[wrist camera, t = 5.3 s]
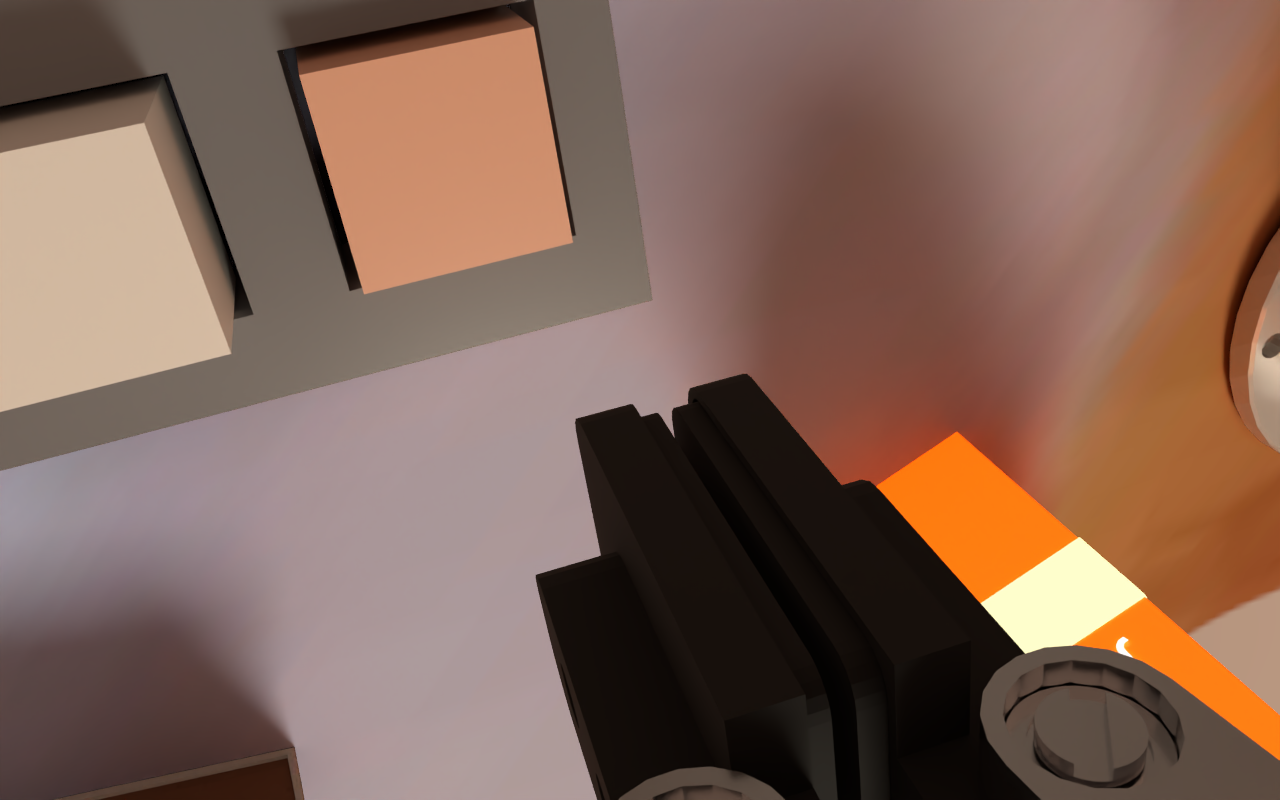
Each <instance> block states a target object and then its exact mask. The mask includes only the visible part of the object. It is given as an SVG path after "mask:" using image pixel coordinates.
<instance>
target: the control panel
mask: <svg viewBox="0 0 1280 800" xmlns="http://www.w3.org/2000/svg"><path fill="white" fill-rule="evenodd" d="M506 4H509V5H510V9H511V10H512V11H513V12H515V13H516V14H517V15H519V16H520V17H521V18H523V19H524V20H525V21H527V22H528V23H529V24H531V25H532V26H533V27H534V32H535V37H536V43H537V48H538V54H539V59H540V65H541V70H542V76H543V81H544V86H545V92H546V97H547V103H548V108H549V114H550V119H551V125H552V130H553V136H554V141H555V147H556V152H557V158H558V163H559V169H560V174H561V180H562V185H563V191H564V196H565V201H566V207H567V212H568V218H569V223H570V229H571V234H572V240H573V243H570V244H566V245H562V246H558V247H554V248H550V249H546V250H542V251H537V252H533V253H529V254H525V255H521V256H517V257H513V258H509V259H505V260H501V261H497V262H493V263H489V264H485V265H481V266H477V267H473V268H469V269H465V270H461V271H457V272H453V273H448V274H444V275H440V276H436V277H432V278H428V279H424V280H420V281H416V282H412V283H408V284H404V285H400V286H396V287H392V288H388V289H384V290H380V291H376V292H372V293H368V294H364V292H363V289H362V286H361V282H360V279H359V276H358V272H357V269H356V265H355V262H354V259H353V255H352V252H351V249H350V245H349V242H348V243H344V244H341V242H340V239H339V235H338V232H337V229H336V225H335V222H334V219H333V215H332V212H331V209H330V205H329V202H328V199H327V195H326V192H325V189H324V185H323V182H322V179H321V175H320V172H319V169H318V165H317V162H316V159H315V155H314V152H313V149H312V145H311V142H310V139H309V136H308V132H307V129H306V126H305V122H304V119H303V116H302V112H301V109H300V106H299V102H298V99H297V96H296V92H295V89H294V86H293V82H292V79H291V76H290V72H289V69H288V66H287V62H286V59H285V56H284V52H283V49H288V48H293V47H298V46H302V45H307V44H312V43H317V42H322V41H327V40H332V39H337V38H342V37H347V36H352V35H357V34H362V33H367V32H372V31H377V30H382V29H387V28H392V27H397V26H402V25H407V24H412V23H417V22H422V21H427V20H432V19H437V18H442V17H447V16H451V15H456V14H461V13H466V12H471V11H476V10H481V9H486V8H491V7H496V6H501V5H506ZM163 73H167V74H168V76H169V79H170V82H171V85H172V88H173V90H174V93H175V96H176V99H177V102H178V104H179V107H180V110H181V113H182V116H183V118H184V121H185V124H186V127H187V130H188V132H189V135H190V138H191V141H192V144H193V146H194V149H195V152H196V155H197V158H198V160H199V163H200V166H201V169H202V171H203V174H204V177H205V180H206V183H207V185H208V188H209V191H210V194H211V197H212V199H213V202H214V205H215V208H216V211H217V213H218V216H219V219H220V222H221V225H222V227H223V230H224V233H225V236H226V239H227V241H228V244H229V247H230V250H231V253H232V255H233V258H234V261H235V264H236V267H237V269H235V270H233V271H234V273H235V276H236V287H235V302H234V318H233V334H232V350H231V354H229V355H225V356H221V357H217V358H213V359H209V360H205V361H201V362H197V363H193V364H189V365H185V366H181V367H177V368H173V369H169V370H165V371H161V372H157V373H153V374H149V375H145V376H141V377H137V378H133V379H129V380H125V381H121V382H117V383H113V384H109V385H105V386H101V387H98V388H94V389H90V390H86V391H82V392H78V393H74V394H70V395H66V396H62V397H58V398H54V399H50V400H46V401H42V402H38V403H34V404H30V405H26V406H22V407H18V408H14V409H10V410H6V411H2V412H0V471H1V470H5V469H9V468H13V467H17V466H21V465H24V464H28V463H32V462H36V461H40V460H44V459H47V458H51V457H55V456H59V455H63V454H66V453H70V452H74V451H78V450H82V449H86V448H89V447H93V446H97V445H101V444H105V443H109V442H112V441H116V440H120V439H124V438H128V437H131V436H135V435H139V434H143V433H147V432H151V431H154V430H158V429H162V428H166V427H170V426H174V425H177V424H181V423H185V422H189V421H193V420H196V419H200V418H204V417H208V416H212V415H216V414H219V413H223V412H227V411H231V410H235V409H239V408H242V407H246V406H250V405H254V404H258V403H261V402H265V401H269V400H273V399H277V398H281V397H284V396H288V395H292V394H296V393H300V392H304V391H307V390H311V389H315V388H319V387H323V386H326V385H330V384H334V383H338V382H342V381H346V380H349V379H353V378H357V377H361V376H365V375H369V374H372V373H376V372H380V371H384V370H388V369H391V368H395V367H399V366H403V365H407V364H411V363H414V362H418V361H422V360H426V359H430V358H433V357H437V356H441V355H445V354H449V353H453V352H456V351H460V350H464V349H468V348H472V347H476V346H479V345H483V344H487V343H491V342H495V341H498V340H502V339H506V338H510V337H514V336H518V335H521V334H525V333H529V332H533V331H537V330H541V329H544V328H548V327H552V326H556V325H560V324H563V323H567V322H571V321H575V320H579V319H583V318H586V317H590V316H594V315H598V314H602V313H606V312H609V311H613V310H617V309H621V308H625V307H628V306H632V305H636V304H640V303H644V302H648V301H651V300H652V294H651V287H650V280H649V273H648V267H647V260H646V253H645V246H644V239H643V233H642V226H641V219H640V212H639V205H638V198H637V192H636V185H635V178H634V171H633V164H632V157H631V151H630V144H629V137H628V130H627V123H626V117H625V110H624V103H623V96H622V89H621V82H620V76H619V69H618V62H617V55H616V48H615V42H614V35H613V28H612V21H611V14H610V7H609V1H608V0H0V106H4V105H9V104H14V103H19V102H24V101H29V100H34V99H39V98H44V97H49V96H54V95H59V94H64V93H69V92H74V91H79V90H84V89H89V88H94V87H99V86H104V85H109V84H114V83H119V82H124V81H129V80H134V79H139V78H144V77H149V76H153V75H158V74H163Z"/></svg>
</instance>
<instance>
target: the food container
mask: <svg viewBox="0 0 1280 800" xmlns="http://www.w3.org/2000/svg"><path fill="white" fill-rule="evenodd" d="M53 800H304V795H303V789H302V784H301V779H300V773H299V768H298V763H297V757H296V752H295V747H293V748H289V749H284V750H279V751H275V752H270V753H266V754H261V755H256V756H252V757H247V758H242V759H238V760H233V761H229V762H224V763H219V764H215V765H210V766H206V767H201V768H196V769H192V770H187V771H182V772H178V773H173V774H169V775H164V776H159V777H155V778H150V779H146V780H141V781H136V782H132V783H127V784H122V785H118V786H113V787H109V788H104V789H99V790H95V791H90V792H86V793H81V794H76V795H72V796H67V797H62V798H58V799H53Z"/></svg>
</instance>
